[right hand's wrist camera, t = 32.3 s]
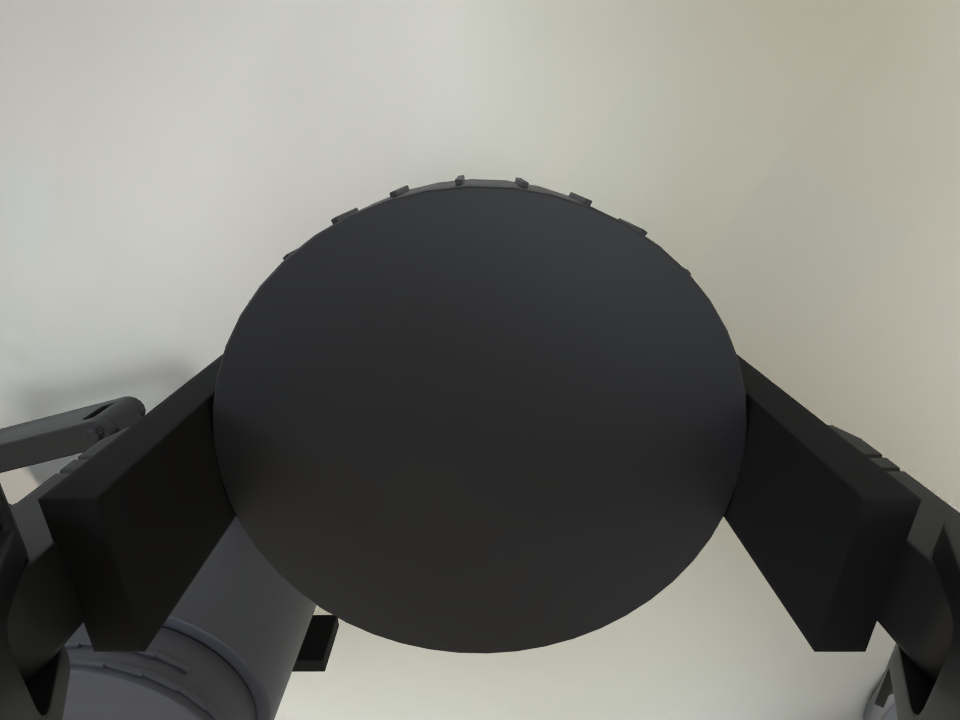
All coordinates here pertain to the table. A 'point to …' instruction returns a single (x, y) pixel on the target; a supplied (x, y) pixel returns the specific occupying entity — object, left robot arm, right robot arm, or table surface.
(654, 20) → the table surface
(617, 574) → the lid
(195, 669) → the jar
